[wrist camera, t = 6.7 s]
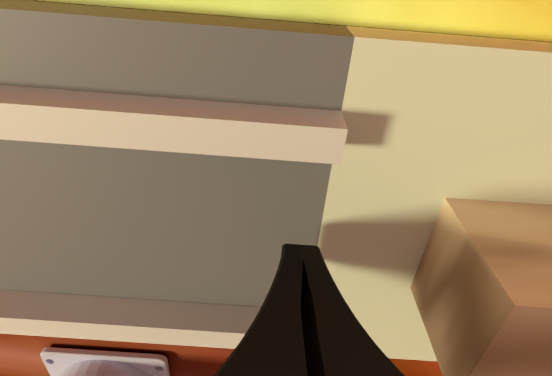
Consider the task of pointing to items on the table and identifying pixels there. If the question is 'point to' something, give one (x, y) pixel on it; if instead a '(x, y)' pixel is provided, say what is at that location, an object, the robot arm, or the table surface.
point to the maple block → (488, 288)
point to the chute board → (243, 164)
